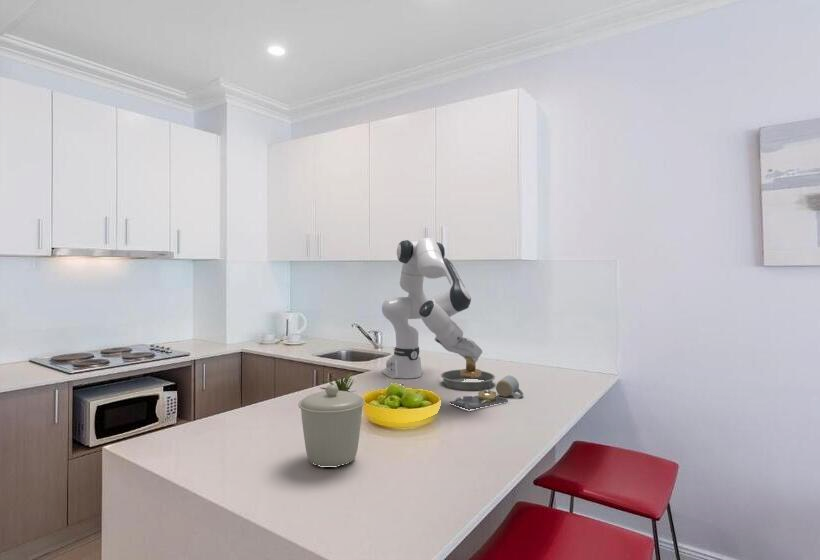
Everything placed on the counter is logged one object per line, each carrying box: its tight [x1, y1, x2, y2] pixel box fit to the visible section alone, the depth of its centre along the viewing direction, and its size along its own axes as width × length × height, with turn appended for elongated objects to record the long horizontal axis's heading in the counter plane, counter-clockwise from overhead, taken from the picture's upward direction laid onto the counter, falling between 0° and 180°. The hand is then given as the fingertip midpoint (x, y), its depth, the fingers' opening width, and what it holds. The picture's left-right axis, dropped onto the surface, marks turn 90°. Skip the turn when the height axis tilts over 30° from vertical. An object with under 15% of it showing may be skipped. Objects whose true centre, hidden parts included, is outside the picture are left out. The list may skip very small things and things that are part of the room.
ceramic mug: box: [495, 375, 524, 399], centre depth 193 cm, size 11×8×8 cm
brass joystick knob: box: [459, 356, 482, 378], centre depth 179 cm, size 8×8×10 cm
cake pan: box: [440, 369, 496, 391], centre depth 212 cm, size 25×25×4 cm
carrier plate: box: [448, 388, 509, 410], centre depth 182 cm, size 12×21×5 cm, turn 125°
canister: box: [298, 384, 366, 466], centre depth 128 cm, size 18×18×21 cm
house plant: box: [320, 372, 356, 393], centre depth 165 cm, size 14×14×16 cm
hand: (472, 359), depth 179 cm, fingers closed on brass joystick knob, 4 cm apart
